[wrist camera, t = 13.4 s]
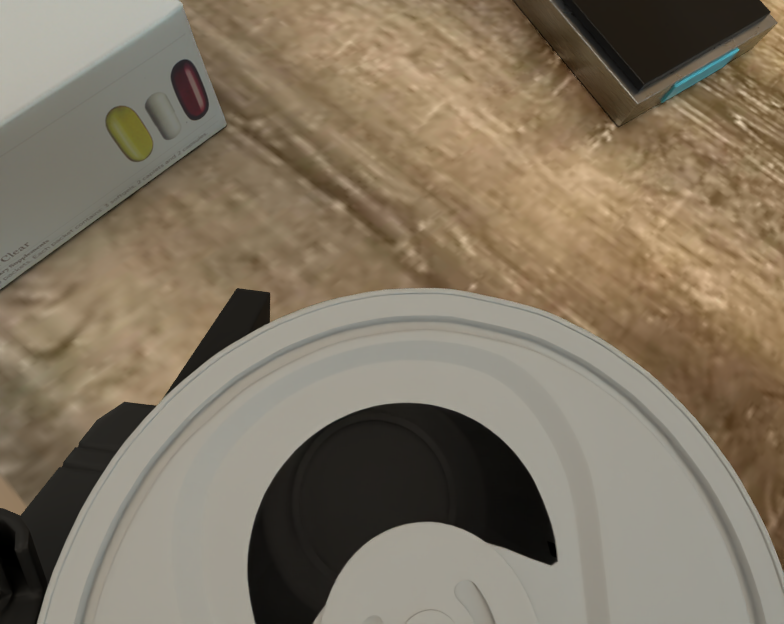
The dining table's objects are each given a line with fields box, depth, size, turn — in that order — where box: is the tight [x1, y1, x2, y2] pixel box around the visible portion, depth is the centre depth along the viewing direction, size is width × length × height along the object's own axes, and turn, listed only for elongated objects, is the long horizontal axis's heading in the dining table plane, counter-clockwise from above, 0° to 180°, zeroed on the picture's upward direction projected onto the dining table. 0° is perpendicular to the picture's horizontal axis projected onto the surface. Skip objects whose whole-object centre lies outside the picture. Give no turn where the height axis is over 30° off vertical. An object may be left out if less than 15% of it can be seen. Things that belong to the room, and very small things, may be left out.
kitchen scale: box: [514, 0, 777, 127], centre depth 35 cm, size 13×13×3 cm
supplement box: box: [0, 0, 227, 289], centre depth 26 cm, size 17×13×9 cm
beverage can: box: [37, 288, 784, 624], centre depth 9 cm, size 6×6×12 cm
